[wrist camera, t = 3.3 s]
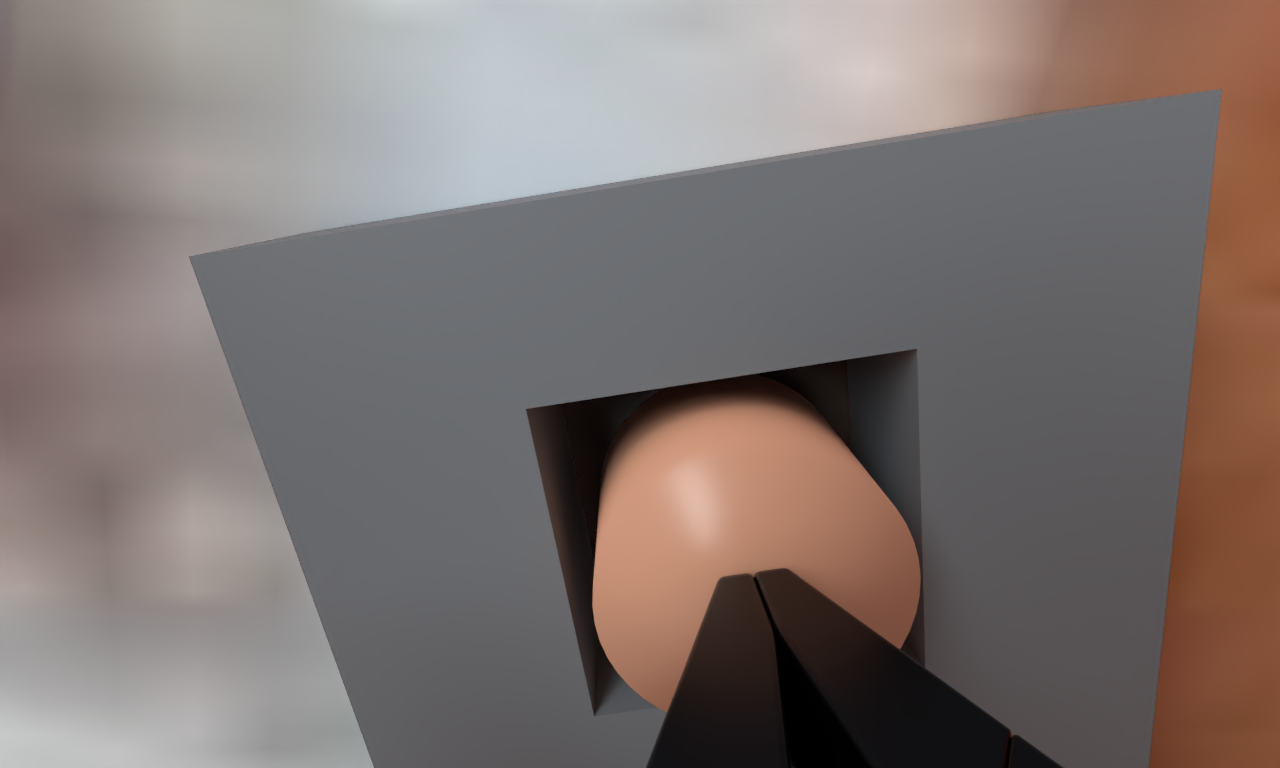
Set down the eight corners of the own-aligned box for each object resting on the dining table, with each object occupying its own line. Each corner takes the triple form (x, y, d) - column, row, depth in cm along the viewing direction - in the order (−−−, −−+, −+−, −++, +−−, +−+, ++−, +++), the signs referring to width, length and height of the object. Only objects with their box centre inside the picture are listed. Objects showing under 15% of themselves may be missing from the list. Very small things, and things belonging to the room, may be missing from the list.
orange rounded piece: (849, 574, 12) (924, 707, 9) (621, 607, 12) (621, 749, 9) (835, 353, 10) (916, 424, 7) (580, 392, 10) (564, 478, 8)
